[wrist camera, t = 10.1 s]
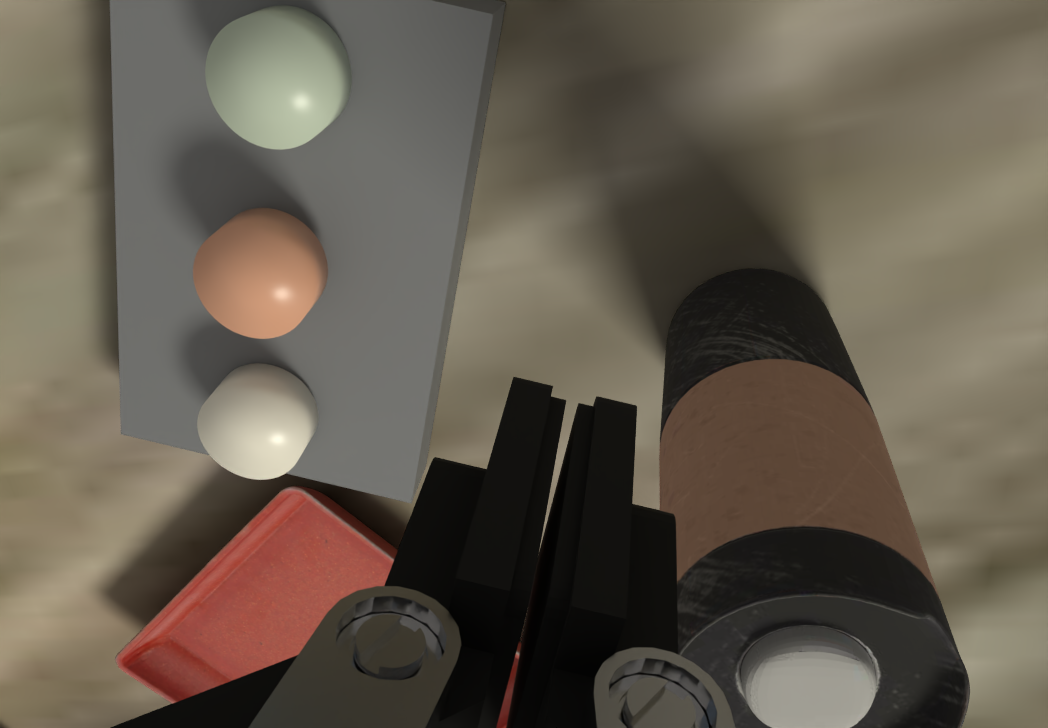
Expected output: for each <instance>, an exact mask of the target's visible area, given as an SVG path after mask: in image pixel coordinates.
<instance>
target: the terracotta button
mask: <svg viewBox="0 0 1048 728" xmlns="http://www.w3.org/2000/svg"><path fill="white" fill-rule="evenodd" d="M327 278H328V264H327V259H326V255H325V252H324V250H323V247H322V245H321V243H320V242H319V240H318V239H317V237H316V236H315V234H314V233H313V232H312V231H311V230H310V229H309V228H308V227H307V226H306V225H305V224H304V223H303V222H301V221H300V220H299V219H297V218H295V217H294V216H292V215H290V214H288V213H285V212H283V211H280V210H276V209H271V208H253V209H249V210H246V211H243V212H241V213H239V214H237V215H235V216H234V217H233V218H232V219H230V220H229V221H228V222H227V223H226V224H224V225H223V226H222V227H221V228H220V229H219V230H217V231H216V232H215V233H214V234H213V235H211V236H210V237H209V238H208V239H207V240H206V241H205V242H204V243H203V244H202V245H201V247H200V248H199V250H198V252H197V254H196V257H195V260H194V264H193V280H194V285H195V288H196V291H197V294H198V296H199V298H200V300H201V302H202V304H203V305H204V307H205V308H206V309H207V311H208V312H209V313H210V314H211V315H212V316H213V317H214V318H215V319H216V320H217V321H218V322H219V323H220V324H222V325H223V326H225V327H226V328H228V329H230V330H231V331H233V332H235V333H238V334H240V335H243V336H247V337H251V338H258V339H268V338H275V337H279V336H282V335H284V334H286V333H288V332H290V331H291V330H293V329H294V328H295V327H296V326H297V325H298V324H299V323H300V322H301V321H302V320H303V318H304V317H305V316H306V314H307V313H308V312H309V311H310V309H311V308H312V307H313V305H314V304H315V303H316V302H317V300H318V299H319V298H320V296H321V295H322V293H323V291H324V289H325V286H326V283H327Z"/></svg>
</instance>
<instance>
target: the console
mask: <svg viewBox="0 0 1048 728" xmlns="http://www.w3.org/2000/svg"><path fill="white" fill-rule="evenodd" d="M505 4H506V2H502V1H497V0H110V31H111V70H112V108H113V147H114V185H115V224H116V262H117V301H118V339H119V378H120V417H121V434H123V435H127V436H131V437H135V438H139V439H144V440H148V441H152V442H156V443H160V444H165V445H169V446H173V447H177V448H181V449H185V450H190V451H194V452H198V453H202V454H206V455H209V453H208V452H207V451H206V449H205V448H204V446H203V444H202V442H201V440H200V437H199V434H198V428H197V420H198V415H199V411H200V409H201V407H202V405H203V404H204V403H205V401H206V400H207V399H208V398H209V396H210V395H211V394H212V393H213V392H214V391H215V389H216V388H217V387H218V386H219V385H220V383H221V382H222V381H223V380H224V379H225V377H226V376H227V375H228V374H229V373H230V372H232V371H233V370H234V369H236V368H238V367H240V366H243V365H247V364H254V363H262V364H269V365H273V366H277V367H280V368H282V369H284V370H286V371H288V372H290V373H291V374H293V375H294V376H296V377H297V378H298V379H299V380H301V381H302V382H303V383H304V384H305V386H306V387H307V388H308V389H309V391H310V392H311V394H312V396H313V397H314V400H315V402H316V405H317V409H318V425H317V428H316V431H315V433H314V435H313V436H312V438H311V440H310V441H309V443H308V445H307V446H306V448H305V450H304V451H303V453H302V455H301V456H300V458H299V460H298V461H297V463H296V464H295V465H294V467H293V468H292V469H291V470H290V471H288V472H287V473H286V474H290V475H295V476H299V477H303V478H307V479H311V480H315V481H320V482H324V483H328V484H332V485H336V486H341V487H345V488H349V489H353V490H357V491H362V492H366V493H370V494H374V495H378V496H383V497H387V498H391V499H395V500H399V501H404V502H408V503H412V501H413V498H414V496H415V493H416V490H417V488H418V485H419V483H420V480H421V478H422V475H423V472H424V470H425V467H426V462H427V457H428V451H429V445H430V439H431V433H432V428H433V422H434V416H435V410H436V404H437V399H438V393H439V387H440V381H441V375H442V370H443V364H444V358H445V352H446V346H447V341H448V335H449V329H450V323H451V317H452V312H453V306H454V300H455V294H456V288H457V283H458V277H459V271H460V265H461V259H462V254H463V248H464V242H465V236H466V230H467V225H468V219H469V213H470V207H471V201H472V196H473V190H474V184H475V178H476V172H477V167H478V161H479V155H480V149H481V143H482V138H483V132H484V126H485V120H486V114H487V109H488V103H489V97H490V91H491V85H492V80H493V74H494V68H495V62H496V56H497V51H498V45H499V39H500V33H501V27H502V22H503V16H504V10H505ZM277 5H288V6H294V7H298V8H301V9H304V10H307V11H309V12H311V13H313V14H314V15H316V16H318V17H319V18H321V19H322V20H323V21H324V22H326V23H327V24H328V25H329V26H330V27H331V28H332V29H333V31H334V32H335V33H336V34H337V36H338V37H339V39H340V40H341V42H342V43H343V46H344V48H345V50H346V52H347V55H348V58H349V61H350V66H351V73H352V86H351V92H350V96H349V99H348V102H347V104H346V106H345V108H344V110H343V111H342V113H341V114H340V115H339V116H338V118H337V119H336V120H335V121H333V122H332V123H331V124H330V125H329V126H327V127H326V128H325V129H324V130H322V131H321V132H320V133H319V134H317V135H316V136H315V137H314V138H313V139H311V140H310V141H308V142H307V143H305V144H303V145H300V146H298V147H295V148H291V149H282V150H280V149H269V148H264V147H261V146H257V145H255V144H253V143H250V142H249V141H247V140H245V139H243V138H242V137H240V136H239V135H238V134H236V133H235V132H234V131H233V130H232V129H231V128H230V127H229V126H228V125H227V124H226V123H225V122H224V121H223V120H222V118H221V117H220V115H219V114H218V112H217V111H216V109H215V107H214V105H213V103H212V101H211V98H210V96H209V92H208V89H207V84H206V75H205V67H206V59H207V54H208V51H209V48H210V46H211V44H212V42H213V40H214V38H215V37H216V36H217V34H218V33H219V32H220V31H221V30H222V29H223V28H224V27H225V26H226V25H228V24H229V23H231V22H232V21H234V20H236V19H238V18H241V17H243V16H246V15H248V14H251V13H253V12H256V11H259V10H261V9H264V8H267V7H271V6H277ZM253 208H271V209H276V210H280V211H283V212H285V213H288V214H290V215H292V216H294V217H295V218H297V219H299V220H300V221H301V222H303V223H304V224H305V225H306V226H307V227H308V228H309V229H310V230H311V231H312V232H313V233H314V234H315V236H316V237H317V239H318V240H319V242H320V243H321V245H322V247H323V250H324V252H325V255H326V259H327V264H328V278H327V283H326V286H325V289H324V291H323V293H322V295H321V296H320V298H319V299H318V300H317V302H316V303H315V304H314V305H313V307H312V308H311V309H310V311H309V312H308V313H307V314H306V316H305V317H304V318H303V320H302V321H301V322H300V323H299V324H298V325H297V326H296V327H295V328H294V329H293V330H291V331H290V332H288V333H286V334H284V335H282V336H279V337H275V338H268V339H258V338H251V337H247V336H243V335H240V334H238V333H235V332H233V331H231V330H230V329H228V328H226V327H225V326H223V325H222V324H220V323H219V322H218V321H217V320H216V319H215V318H214V317H213V316H212V315H211V314H210V313H209V312H208V311H207V309H206V308H205V307H204V305H203V304H202V302H201V300H200V298H199V296H198V294H197V291H196V288H195V285H194V280H193V264H194V260H195V257H196V254H197V252H198V250H199V248H200V247H201V245H202V244H203V243H204V242H205V241H206V240H207V239H208V238H209V237H210V236H211V235H213V234H214V233H215V232H216V231H217V230H219V229H220V228H221V227H222V226H223V225H224V224H226V223H227V222H228V221H229V220H230V219H232V218H233V217H234V216H235V215H237V214H239V213H241V212H243V211H246V210H249V209H253Z"/></svg>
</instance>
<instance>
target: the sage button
mask: <svg viewBox="0 0 1048 728" xmlns="http://www.w3.org/2000/svg"><path fill="white" fill-rule="evenodd" d="M205 75H206V84H207V89H208V92H209V96H210V98H211V101H212V103H213V105H214V107H215V109H216V111H217V112H218V114H219V115H220V117H221V118H222V120H223V121H224V122H225V123H226V124H227V125H228V126H229V127H230V128H231V129H232V130H233V131H234V132H235V133H236V134H238V135H239V136H240V137H242V138H243V139H245V140H247V141H249V142H250V143H253V144H255V145H257V146H261V147H264V148H269V149H280V150H282V149H291V148H295V147H298V146H300V145H303V144H305V143H307V142H308V141H310V140H311V139H313V138H314V137H315V136H316V135H317V134H319V133H320V132H321V131H322V130H324V129H325V128H326V127H327V126H329V125H330V124H331V123H332V122H333V121H335V120H336V119H337V118H338V116H339V115H340V114H341V113H342V111H343V110H344V108H345V106H346V104H347V102H348V99H349V96H350V92H351V86H352V73H351V66H350V61H349V58H348V55H347V52H346V50H345V48H344V46H343V43H342V42H341V40H340V39H339V37H338V36H337V34H336V33H335V32H334V31H333V29H332V28H331V27H330V26H329V25H328V24H327V23H326V22H324V21H323V20H322V19H321V18H319V17H318V16H316V15H314V14H313V13H311V12H309V11H307V10H304V9H301V8H298V7H294V6H288V5H277V6H271V7H267V8H264V9H261V10H259V11H256V12H253V13H251V14H248V15H246V16H243V17H241V18H238V19H236V20H234V21H232V22H231V23H229V24H228V25H226V26H225V27H224V28H223V29H222V30H221V31H220V32H219V33H218V34H217V36H216V37H215V38H214V40H213V42H212V44H211V46H210V48H209V51H208V54H207V59H206V67H205Z"/></svg>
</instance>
